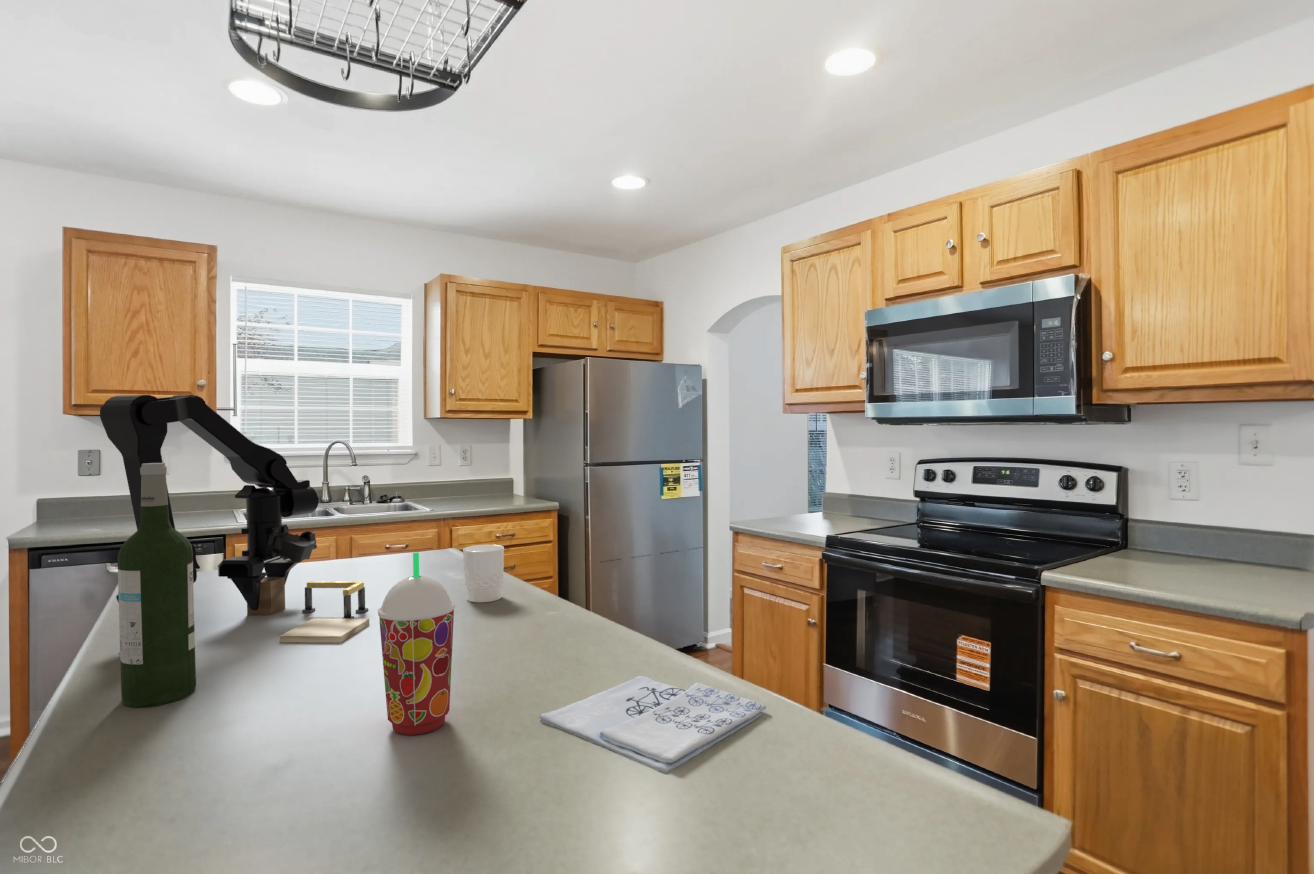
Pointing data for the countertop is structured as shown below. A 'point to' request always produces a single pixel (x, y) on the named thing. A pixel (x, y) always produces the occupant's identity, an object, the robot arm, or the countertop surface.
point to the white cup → (483, 572)
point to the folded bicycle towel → (656, 720)
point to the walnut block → (270, 596)
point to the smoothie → (417, 652)
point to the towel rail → (350, 589)
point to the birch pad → (324, 630)
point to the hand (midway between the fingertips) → (266, 604)
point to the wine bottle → (156, 603)
